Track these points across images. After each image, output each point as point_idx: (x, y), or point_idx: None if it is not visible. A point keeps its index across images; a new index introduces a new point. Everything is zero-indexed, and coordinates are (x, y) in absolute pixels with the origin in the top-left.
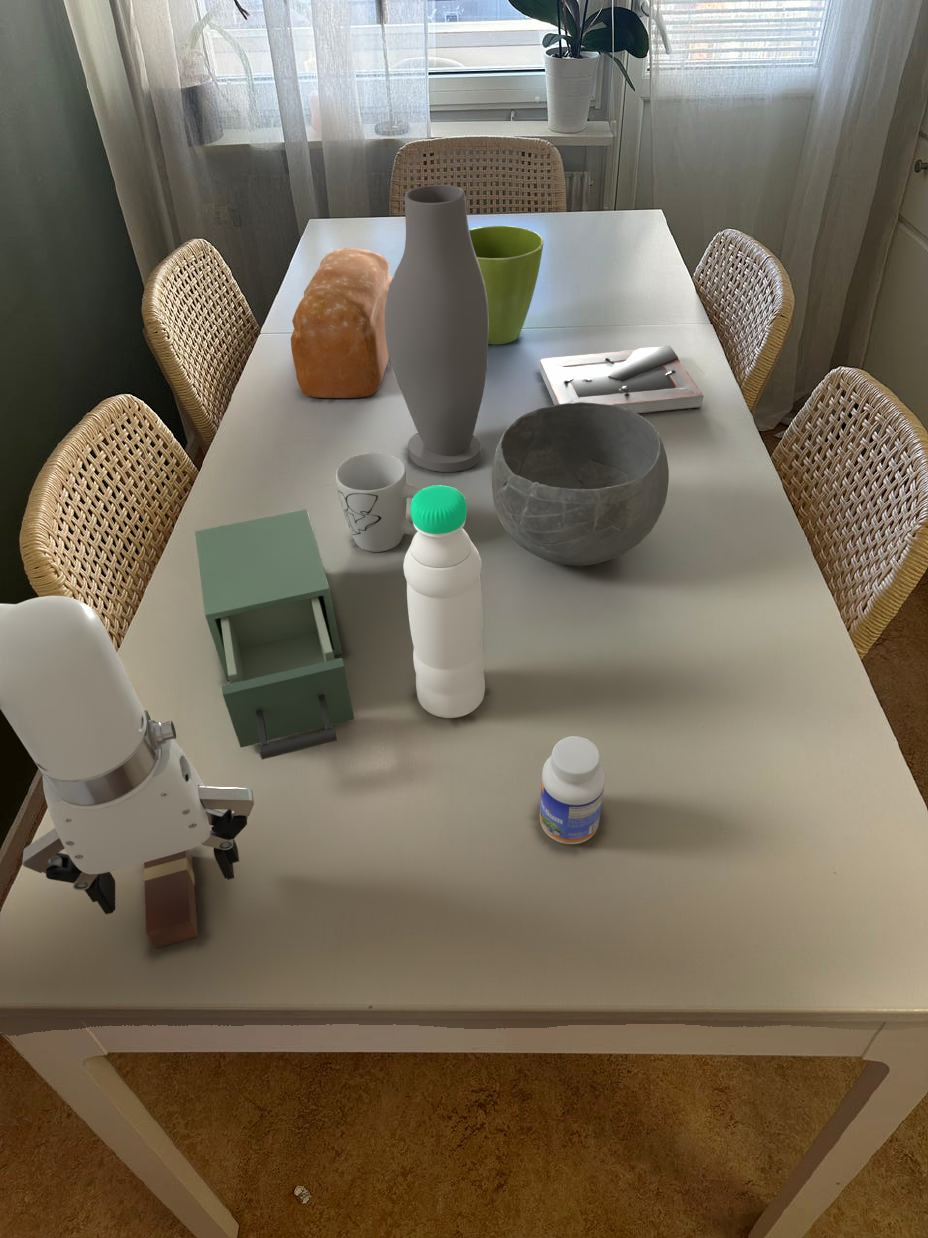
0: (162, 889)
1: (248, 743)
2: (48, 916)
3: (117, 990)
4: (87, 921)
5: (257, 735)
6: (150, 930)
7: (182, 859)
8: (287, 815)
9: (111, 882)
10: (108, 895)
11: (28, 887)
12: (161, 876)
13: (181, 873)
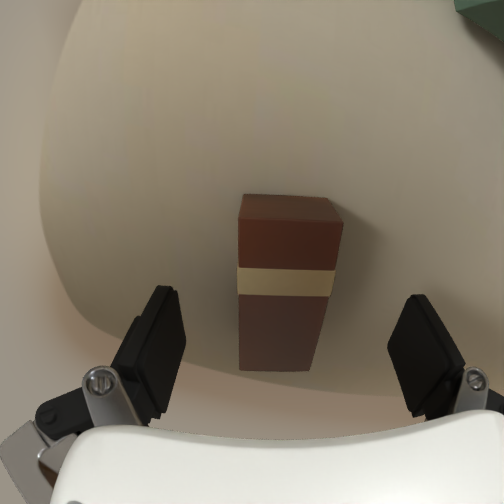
0: (274, 320)
1: (472, 17)
2: (80, 236)
3: (195, 357)
4: (135, 263)
5: (498, 25)
6: (246, 368)
7: (327, 272)
8: (480, 187)
9: (172, 319)
10: (175, 364)
11: (44, 177)
12: (275, 295)
13: (317, 302)
